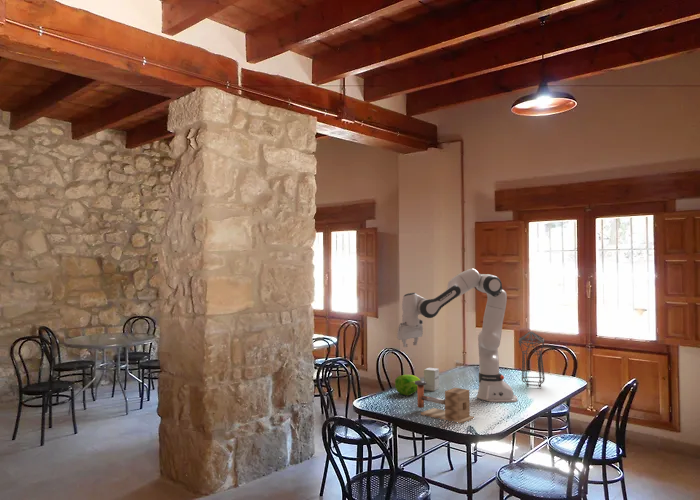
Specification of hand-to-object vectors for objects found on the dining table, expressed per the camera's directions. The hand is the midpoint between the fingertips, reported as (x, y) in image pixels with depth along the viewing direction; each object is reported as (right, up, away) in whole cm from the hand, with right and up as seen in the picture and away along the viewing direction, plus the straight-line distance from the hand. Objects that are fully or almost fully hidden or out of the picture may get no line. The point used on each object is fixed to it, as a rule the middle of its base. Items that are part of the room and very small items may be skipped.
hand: (410, 346), depth 288 cm
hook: (+8, -28, -23) cm, 37 cm away
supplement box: (+16, -32, +28) cm, 46 cm away
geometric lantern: (+81, -32, +35) cm, 94 cm away
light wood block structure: (+15, -30, -30) cm, 45 cm away
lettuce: (+2, -32, +17) cm, 36 cm away
